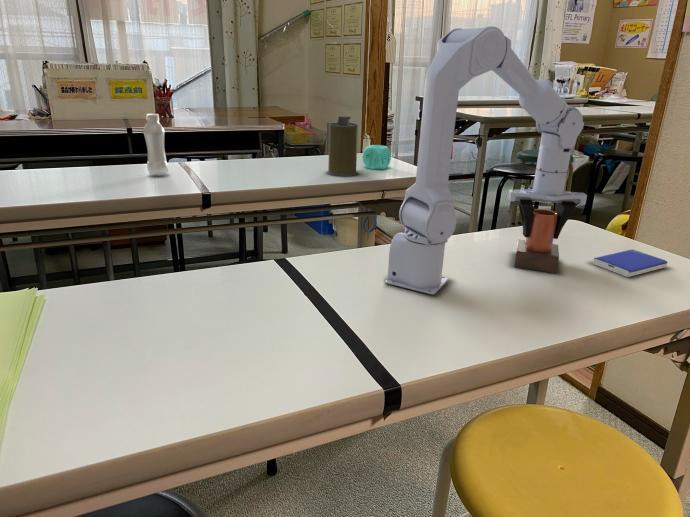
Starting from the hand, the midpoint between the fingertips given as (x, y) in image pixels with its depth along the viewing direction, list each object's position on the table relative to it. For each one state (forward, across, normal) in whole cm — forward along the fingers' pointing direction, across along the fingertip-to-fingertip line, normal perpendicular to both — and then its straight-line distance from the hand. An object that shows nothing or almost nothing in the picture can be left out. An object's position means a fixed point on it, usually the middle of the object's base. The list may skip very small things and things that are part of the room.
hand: (539, 236), depth 104 cm
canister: (+6, -48, +82) cm, 95 cm away
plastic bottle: (+6, -108, +64) cm, 126 cm away
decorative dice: (+6, -36, +96) cm, 103 cm away
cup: (+2, 0, 0) cm, 2 cm away
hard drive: (+6, +20, +2) cm, 21 cm away
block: (+6, 0, 0) cm, 6 cm away
